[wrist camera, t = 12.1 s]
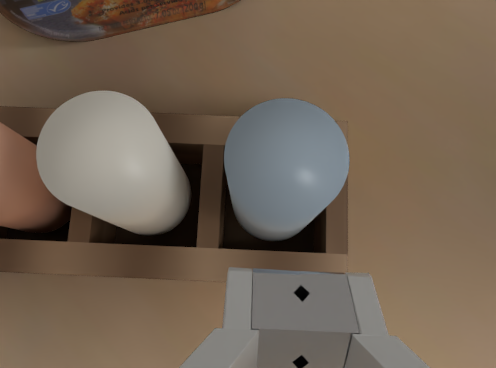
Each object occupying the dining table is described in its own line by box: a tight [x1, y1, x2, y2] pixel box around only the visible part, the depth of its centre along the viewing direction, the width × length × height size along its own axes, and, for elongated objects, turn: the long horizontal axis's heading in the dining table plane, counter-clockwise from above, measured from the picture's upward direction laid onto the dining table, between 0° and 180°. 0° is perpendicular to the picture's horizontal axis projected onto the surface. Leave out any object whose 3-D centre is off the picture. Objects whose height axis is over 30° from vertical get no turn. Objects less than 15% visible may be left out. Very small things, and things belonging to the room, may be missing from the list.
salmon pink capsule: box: [0, 122, 72, 233], centre depth 20 cm, size 4×4×8 cm
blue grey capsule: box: [224, 98, 349, 242], centre depth 18 cm, size 4×4×8 cm
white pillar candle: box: [36, 91, 192, 236], centre depth 18 cm, size 4×4×8 cm
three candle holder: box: [0, 106, 348, 282], centre depth 23 cm, size 19×8×4 cm, turn 87°
